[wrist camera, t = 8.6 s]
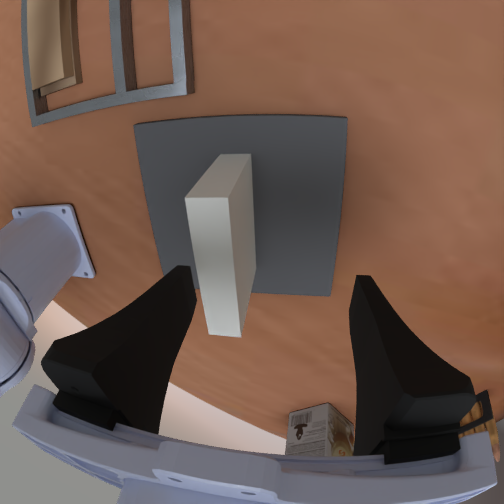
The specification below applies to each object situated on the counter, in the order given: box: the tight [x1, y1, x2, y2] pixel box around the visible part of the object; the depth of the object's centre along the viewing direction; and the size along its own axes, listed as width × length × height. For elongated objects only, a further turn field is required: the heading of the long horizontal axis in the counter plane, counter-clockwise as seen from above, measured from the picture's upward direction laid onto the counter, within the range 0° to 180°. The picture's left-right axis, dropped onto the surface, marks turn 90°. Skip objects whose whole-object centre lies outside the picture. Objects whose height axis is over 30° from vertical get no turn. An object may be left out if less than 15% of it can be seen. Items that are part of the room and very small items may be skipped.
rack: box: [21, 0, 194, 127], centre depth 14 cm, size 14×17×2 cm
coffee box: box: [285, 403, 354, 457], centre depth 32 cm, size 9×6×16 cm
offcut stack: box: [27, 0, 82, 96], centre depth 14 cm, size 4×12×2 cm, turn 3°
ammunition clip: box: [458, 390, 500, 462], centre depth 30 cm, size 11×2×12 cm, turn 132°
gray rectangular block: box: [185, 154, 256, 337], centre depth 19 cm, size 2×9×7 cm, turn 2°
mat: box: [133, 114, 348, 296], centre depth 22 cm, size 14×14×1 cm
